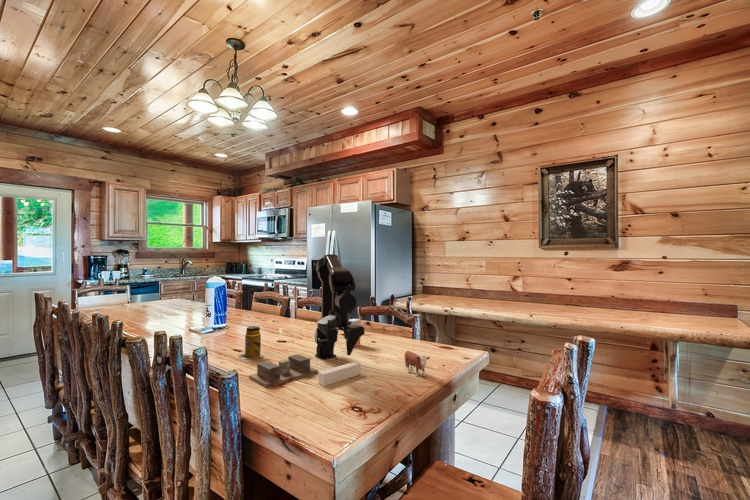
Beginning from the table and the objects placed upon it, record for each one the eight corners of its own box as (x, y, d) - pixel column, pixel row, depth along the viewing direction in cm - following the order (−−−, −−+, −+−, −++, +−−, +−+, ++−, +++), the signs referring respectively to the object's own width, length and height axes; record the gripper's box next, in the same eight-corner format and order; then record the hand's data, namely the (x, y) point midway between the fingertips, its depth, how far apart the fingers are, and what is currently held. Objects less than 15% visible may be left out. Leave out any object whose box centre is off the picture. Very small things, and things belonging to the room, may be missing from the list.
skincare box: (353, 347, 158) (353, 321, 158) (345, 346, 160) (346, 320, 160) (360, 344, 163) (361, 319, 163) (353, 343, 165) (353, 318, 166)
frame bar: (354, 372, 125) (354, 361, 125) (360, 374, 123) (360, 363, 123) (318, 384, 114) (318, 372, 114) (323, 386, 112) (323, 374, 112)
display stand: (299, 365, 133) (299, 352, 133) (317, 372, 124) (318, 358, 124) (249, 378, 118) (249, 363, 118) (266, 387, 110) (266, 372, 110)
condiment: (263, 356, 143) (263, 327, 143) (241, 360, 138) (242, 330, 139) (258, 352, 149) (258, 324, 149) (237, 355, 144) (238, 327, 145)
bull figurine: (422, 382, 116) (422, 357, 116) (402, 369, 128) (402, 347, 128) (432, 380, 118) (432, 356, 118) (412, 368, 130) (412, 346, 130)
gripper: (305, 306, 120) (304, 351, 120) (339, 313, 107) (339, 364, 106) (330, 303, 128) (330, 345, 127) (365, 309, 115) (365, 356, 114)
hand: (340, 352), depth 119 cm, fingers open, 9 cm apart
